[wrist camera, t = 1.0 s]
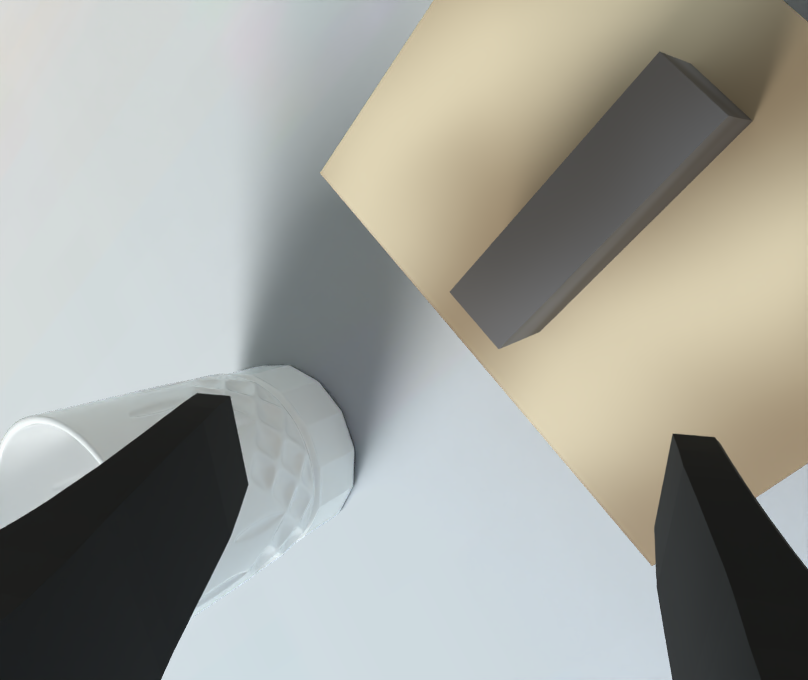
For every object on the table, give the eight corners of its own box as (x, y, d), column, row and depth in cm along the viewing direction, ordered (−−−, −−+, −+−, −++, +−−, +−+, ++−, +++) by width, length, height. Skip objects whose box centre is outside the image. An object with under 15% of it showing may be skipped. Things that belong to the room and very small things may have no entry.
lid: (1089, 265, 12) (1123, 289, 10) (662, 551, 17) (621, 609, 15) (575, -177, 16) (514, -235, 13) (339, 172, 21) (265, 174, 18)
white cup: (305, 313, 29) (63, 370, 21) (404, 499, 28) (189, 634, 20) (197, 399, 34) (-37, 473, 26) (278, 562, 33) (62, 692, 25)
